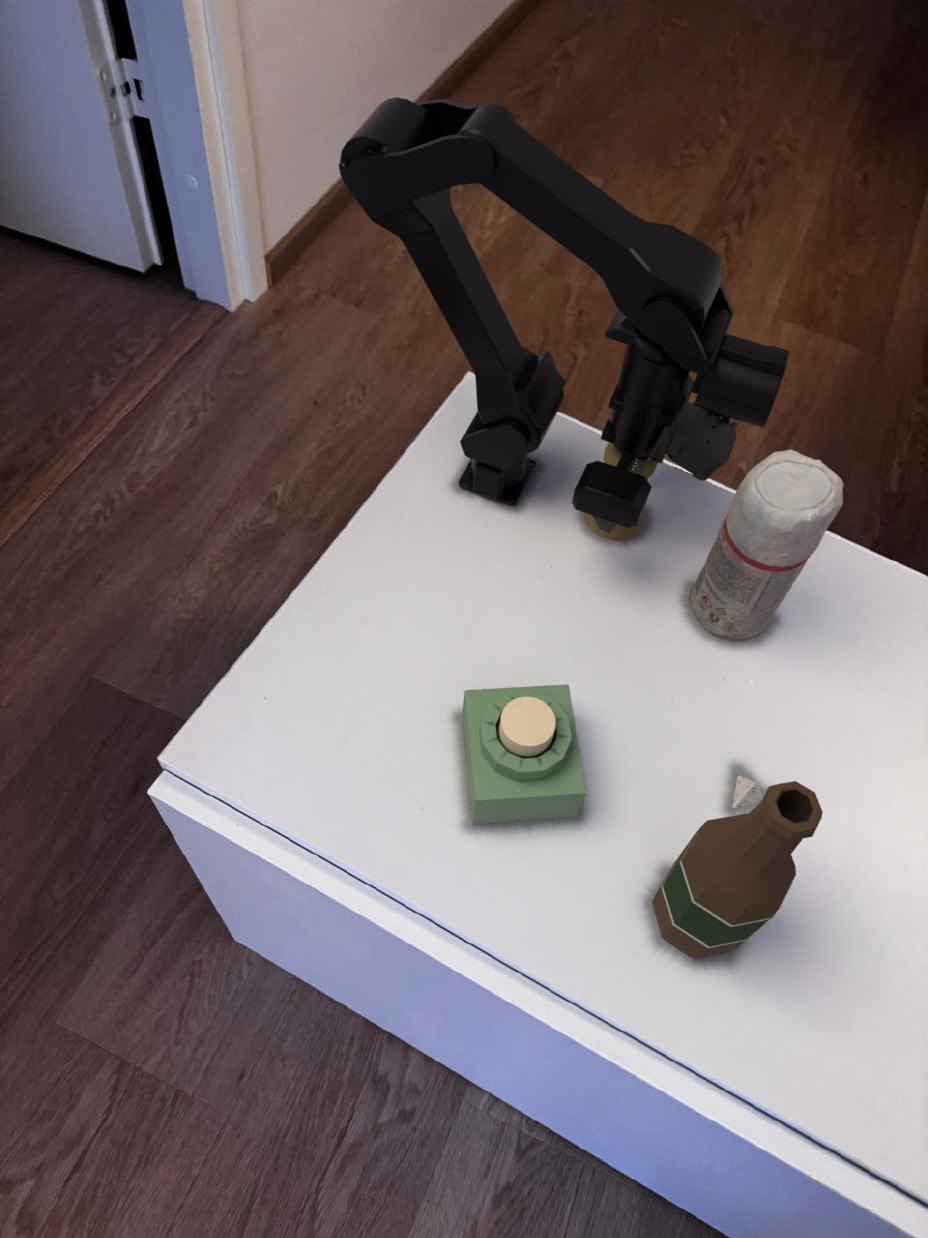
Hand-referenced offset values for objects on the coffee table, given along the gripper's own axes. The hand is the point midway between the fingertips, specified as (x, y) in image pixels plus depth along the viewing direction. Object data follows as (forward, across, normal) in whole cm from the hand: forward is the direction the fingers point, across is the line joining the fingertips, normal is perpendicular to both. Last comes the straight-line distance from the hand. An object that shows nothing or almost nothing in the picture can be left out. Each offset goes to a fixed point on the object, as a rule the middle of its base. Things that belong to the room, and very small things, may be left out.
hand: (619, 497), depth 98 cm
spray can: (+3, -6, -14) cm, 16 cm away
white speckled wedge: (+4, -24, -20) cm, 31 cm away
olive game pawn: (+3, 0, 0) cm, 3 cm away
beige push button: (-4, -30, -1) cm, 30 cm away
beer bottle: (+3, -36, -19) cm, 41 cm away
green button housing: (+3, -30, -1) cm, 30 cm away
